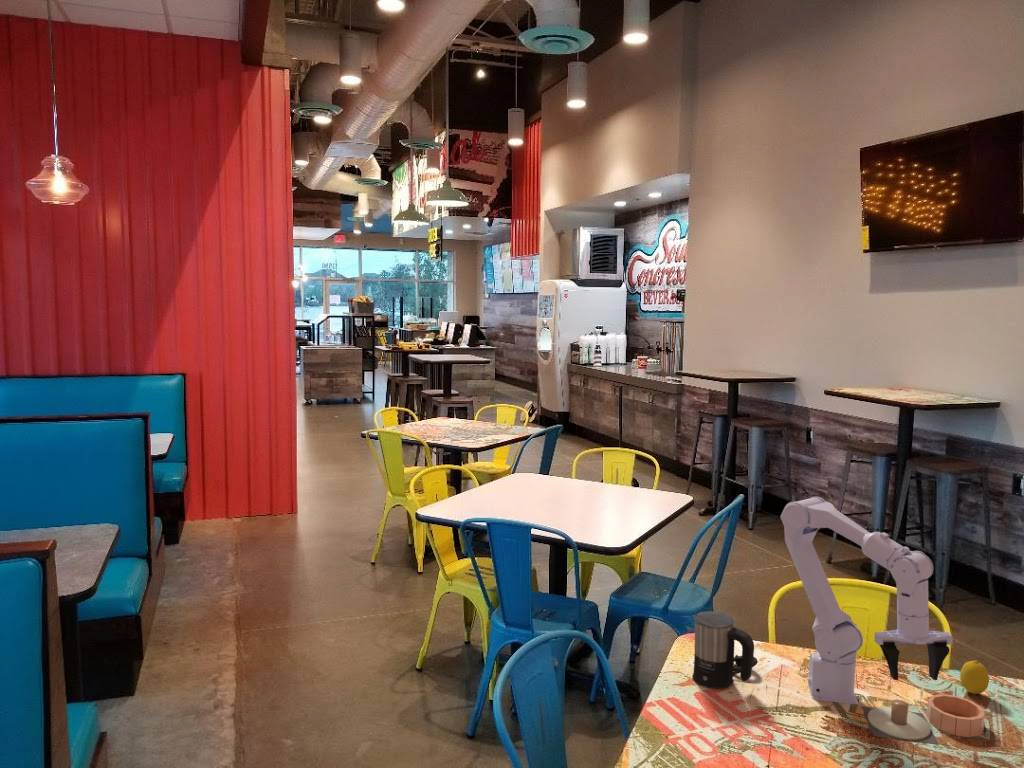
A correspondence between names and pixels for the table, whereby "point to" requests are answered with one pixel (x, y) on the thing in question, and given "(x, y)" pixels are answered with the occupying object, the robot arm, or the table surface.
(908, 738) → the lid
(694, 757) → the table surface
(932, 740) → the mat
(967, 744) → the table surface
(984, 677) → the lemon
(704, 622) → the milk frother
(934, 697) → the bowl
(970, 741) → the table surface
